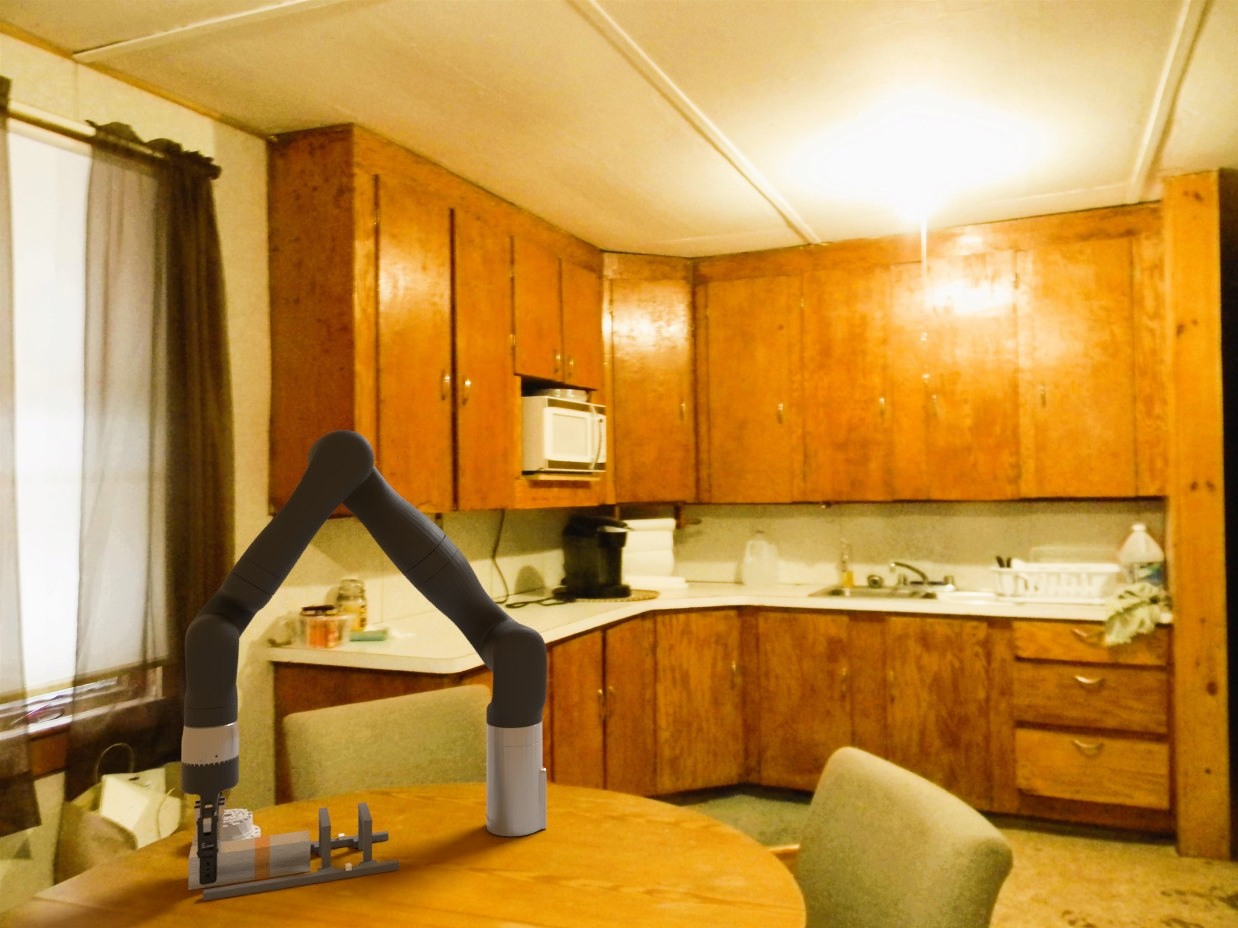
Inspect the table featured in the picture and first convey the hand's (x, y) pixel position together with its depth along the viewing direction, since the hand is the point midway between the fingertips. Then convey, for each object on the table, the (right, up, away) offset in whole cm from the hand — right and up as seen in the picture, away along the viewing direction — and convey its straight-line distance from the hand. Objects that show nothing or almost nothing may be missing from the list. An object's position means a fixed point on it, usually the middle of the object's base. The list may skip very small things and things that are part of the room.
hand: (209, 875), depth 125 cm
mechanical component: (-4, -2, +14) cm, 15 cm away
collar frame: (+12, -1, +5) cm, 13 cm away
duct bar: (+5, -1, +2) cm, 6 cm away
